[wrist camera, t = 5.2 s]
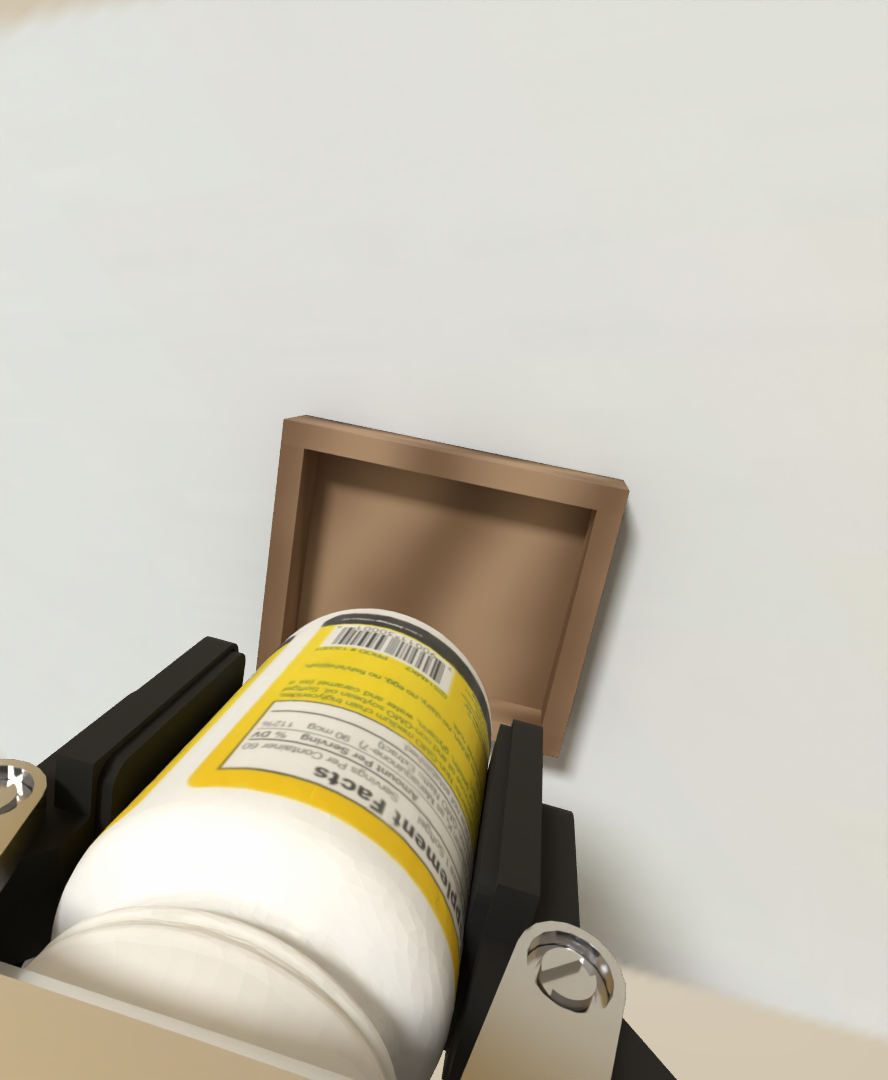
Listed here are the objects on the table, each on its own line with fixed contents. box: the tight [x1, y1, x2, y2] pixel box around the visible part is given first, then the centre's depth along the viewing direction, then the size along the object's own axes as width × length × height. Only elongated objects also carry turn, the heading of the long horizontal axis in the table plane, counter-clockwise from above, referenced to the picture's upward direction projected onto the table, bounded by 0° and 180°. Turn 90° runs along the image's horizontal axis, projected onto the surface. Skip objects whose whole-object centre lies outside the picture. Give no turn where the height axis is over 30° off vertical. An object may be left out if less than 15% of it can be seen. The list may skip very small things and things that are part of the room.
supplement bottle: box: [25, 609, 492, 1080], centre depth 9 cm, size 5×5×8 cm
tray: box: [256, 415, 629, 758], centre depth 28 cm, size 14×12×2 cm
